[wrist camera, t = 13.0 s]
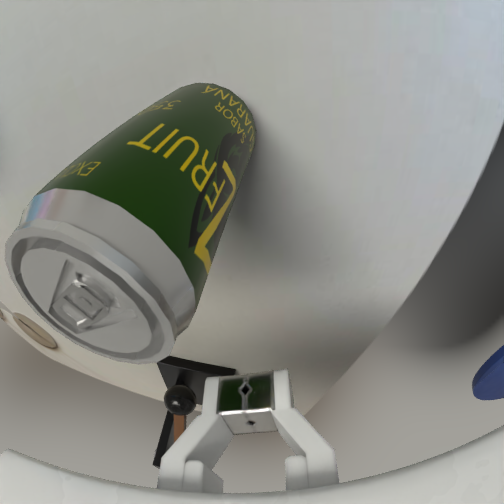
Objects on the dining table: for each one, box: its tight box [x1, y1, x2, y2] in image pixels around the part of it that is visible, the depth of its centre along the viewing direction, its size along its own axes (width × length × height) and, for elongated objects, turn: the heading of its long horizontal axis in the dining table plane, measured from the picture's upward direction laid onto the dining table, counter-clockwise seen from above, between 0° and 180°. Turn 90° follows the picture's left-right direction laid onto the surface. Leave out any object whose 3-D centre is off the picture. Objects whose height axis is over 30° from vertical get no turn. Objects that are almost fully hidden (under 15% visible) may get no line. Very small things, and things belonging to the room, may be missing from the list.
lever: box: [164, 385, 197, 443], centre depth 28 cm, size 13×3×3 cm
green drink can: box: [5, 83, 256, 364], centre depth 11 cm, size 5×5×12 cm
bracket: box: [153, 356, 235, 469], centre depth 32 cm, size 12×9×13 cm
